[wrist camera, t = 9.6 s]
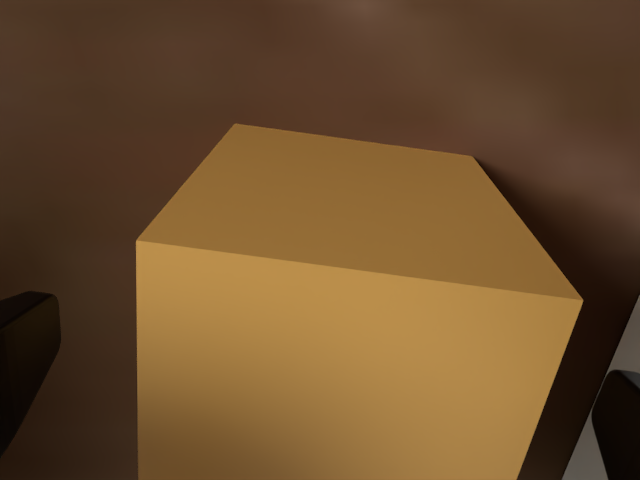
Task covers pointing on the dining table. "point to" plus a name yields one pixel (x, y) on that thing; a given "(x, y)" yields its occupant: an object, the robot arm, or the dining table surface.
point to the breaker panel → (631, 355)
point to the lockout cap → (342, 317)
